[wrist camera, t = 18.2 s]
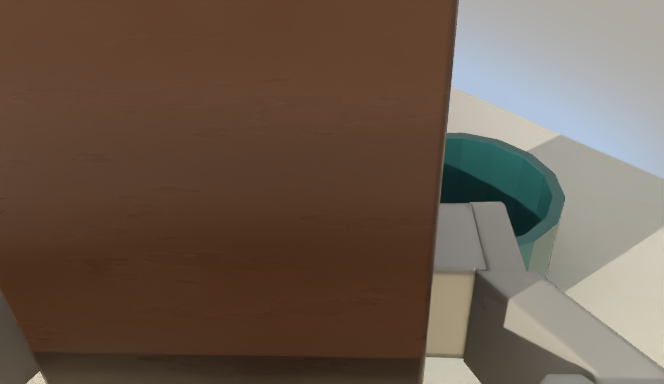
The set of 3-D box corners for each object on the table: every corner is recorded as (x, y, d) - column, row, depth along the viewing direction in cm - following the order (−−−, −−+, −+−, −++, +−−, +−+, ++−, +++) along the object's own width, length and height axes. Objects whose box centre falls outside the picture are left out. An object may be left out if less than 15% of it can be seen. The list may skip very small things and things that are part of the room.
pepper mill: (396, 671, 13) (491, -315, 3) (183, 661, 13) (-294, -281, 4) (389, 464, 16) (424, -274, 7) (224, 459, 17) (45, -259, 7)
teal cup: (329, 229, 37) (325, 154, 34) (479, 191, 40) (490, 118, 36) (401, 359, 29) (406, 277, 25) (585, 301, 31) (610, 220, 28)
